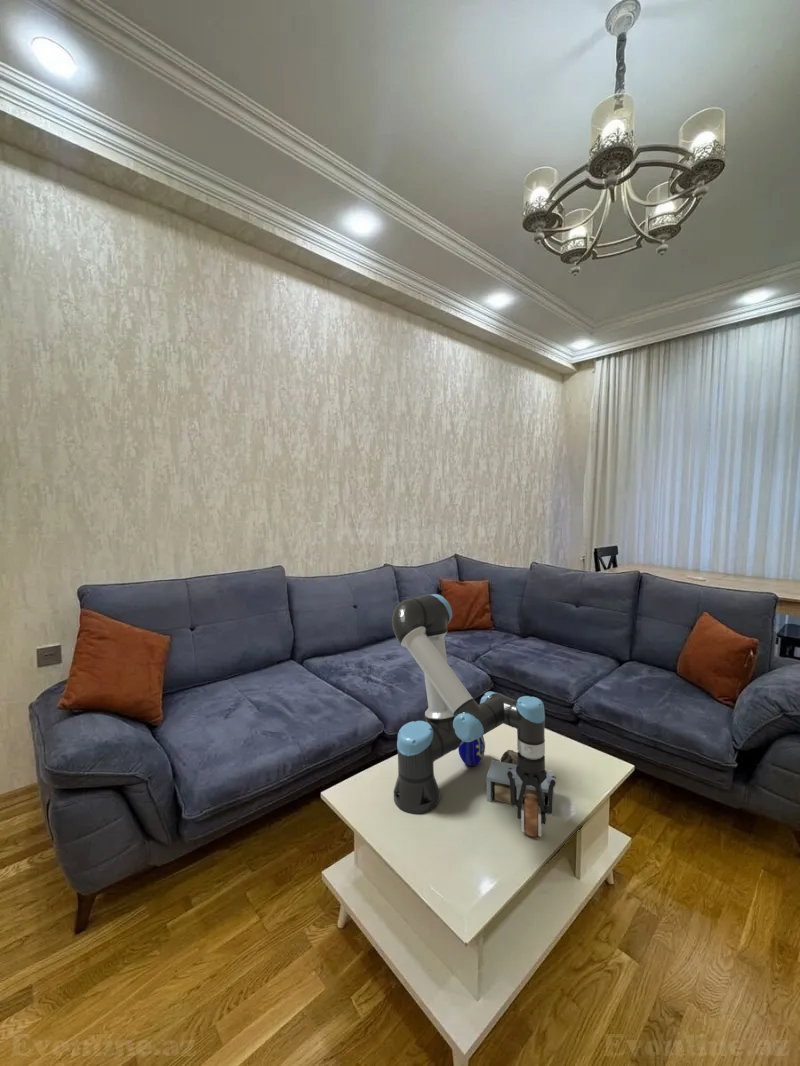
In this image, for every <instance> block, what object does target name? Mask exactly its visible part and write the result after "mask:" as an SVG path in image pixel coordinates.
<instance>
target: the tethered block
mask: <svg viewBox="0 0 800 1066" xmlns="http://www.w3.org/2000/svg"><path fill="white" fill-rule="evenodd" d="M543 797H544V802H545V803H546V796H545V792H543ZM523 804H524V833H525V834H526V835H527V836H528V837H529V836H530V837H531V838H532V837H537V836H538V812H539V808H540V806H539V801H538V797H537V792H536V790H531V789H526V790H525V794H524V799H523ZM538 837H539V836H538Z"/></svg>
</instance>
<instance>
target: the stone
mask: <svg viewBox="0 0 800 1066" xmlns="http://www.w3.org/2000/svg"><path fill="white" fill-rule="evenodd" d="M517 753H518V751H517V752H516V751H514V750H513V749H507V750H506V751H504V753H503V754H502V756H501V758H500V762H505V763H510V764H515V765H518V754H517Z"/></svg>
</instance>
